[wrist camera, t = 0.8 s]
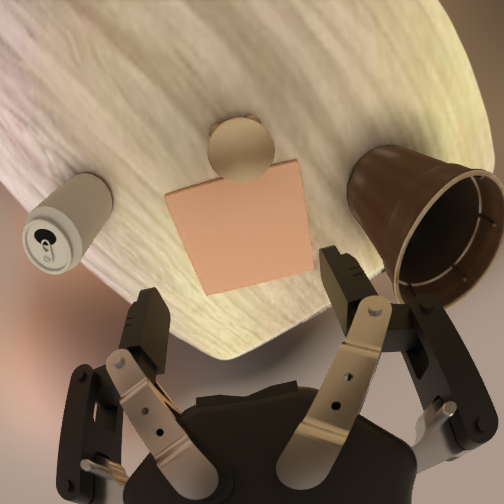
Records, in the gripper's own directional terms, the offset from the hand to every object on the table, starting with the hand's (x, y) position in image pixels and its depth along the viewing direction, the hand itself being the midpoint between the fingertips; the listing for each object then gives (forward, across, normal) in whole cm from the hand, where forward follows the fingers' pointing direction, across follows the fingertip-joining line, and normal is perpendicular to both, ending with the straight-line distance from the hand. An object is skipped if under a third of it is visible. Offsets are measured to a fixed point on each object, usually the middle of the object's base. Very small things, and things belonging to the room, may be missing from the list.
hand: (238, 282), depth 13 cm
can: (+21, +18, -1) cm, 28 cm away
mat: (+21, 0, +10) cm, 23 cm away
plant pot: (+21, -20, +8) cm, 30 cm away
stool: (+21, -2, -2) cm, 21 cm away
